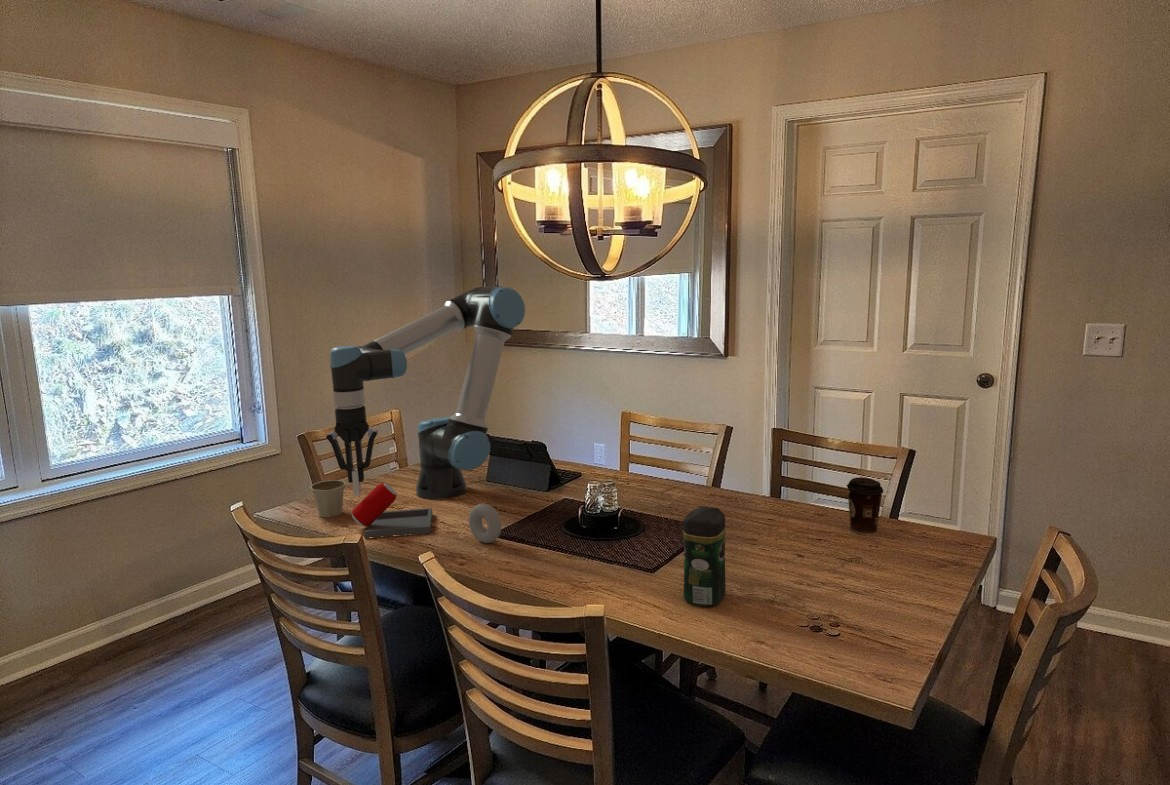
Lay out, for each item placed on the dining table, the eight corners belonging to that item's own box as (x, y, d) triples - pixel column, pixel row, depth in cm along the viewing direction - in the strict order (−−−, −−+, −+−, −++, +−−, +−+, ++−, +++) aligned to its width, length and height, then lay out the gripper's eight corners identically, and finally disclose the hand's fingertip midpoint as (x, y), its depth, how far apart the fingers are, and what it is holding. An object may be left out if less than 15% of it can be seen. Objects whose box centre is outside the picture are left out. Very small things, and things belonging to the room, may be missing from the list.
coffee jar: (692, 584, 154) (692, 501, 151) (729, 591, 151) (730, 505, 148) (678, 604, 146) (677, 516, 143) (716, 611, 142) (717, 521, 139)
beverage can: (345, 512, 190) (378, 479, 191) (355, 513, 196) (387, 481, 197) (360, 529, 189) (394, 495, 190) (369, 529, 195) (402, 497, 196)
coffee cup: (842, 533, 181) (844, 483, 179) (847, 522, 188) (849, 474, 186) (879, 538, 177) (882, 487, 175) (883, 527, 184) (885, 478, 182)
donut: (505, 544, 180) (503, 505, 178) (495, 548, 177) (493, 509, 175) (476, 536, 186) (474, 498, 184) (466, 540, 183) (464, 502, 181)
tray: (432, 514, 203) (432, 507, 202) (430, 533, 188) (429, 526, 188) (371, 519, 200) (371, 512, 200) (364, 538, 186) (364, 531, 185)
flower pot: (341, 519, 200) (338, 489, 199) (307, 520, 201) (305, 490, 199) (352, 508, 210) (350, 479, 208) (320, 509, 210) (318, 480, 208)
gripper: (377, 402, 191) (384, 487, 196) (326, 404, 189) (334, 491, 194) (374, 407, 184) (381, 496, 188) (320, 410, 182) (329, 500, 186)
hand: (357, 493), depth 191 cm, fingers closed
